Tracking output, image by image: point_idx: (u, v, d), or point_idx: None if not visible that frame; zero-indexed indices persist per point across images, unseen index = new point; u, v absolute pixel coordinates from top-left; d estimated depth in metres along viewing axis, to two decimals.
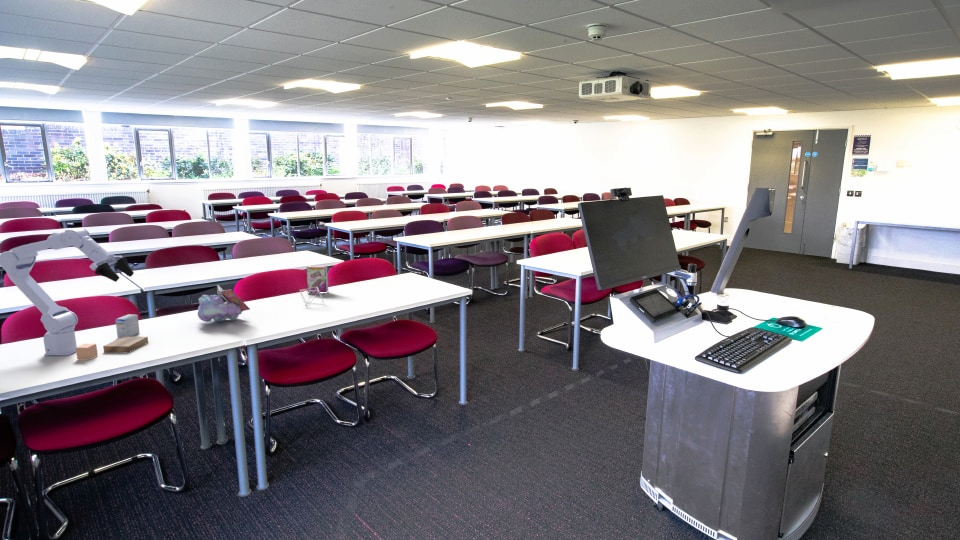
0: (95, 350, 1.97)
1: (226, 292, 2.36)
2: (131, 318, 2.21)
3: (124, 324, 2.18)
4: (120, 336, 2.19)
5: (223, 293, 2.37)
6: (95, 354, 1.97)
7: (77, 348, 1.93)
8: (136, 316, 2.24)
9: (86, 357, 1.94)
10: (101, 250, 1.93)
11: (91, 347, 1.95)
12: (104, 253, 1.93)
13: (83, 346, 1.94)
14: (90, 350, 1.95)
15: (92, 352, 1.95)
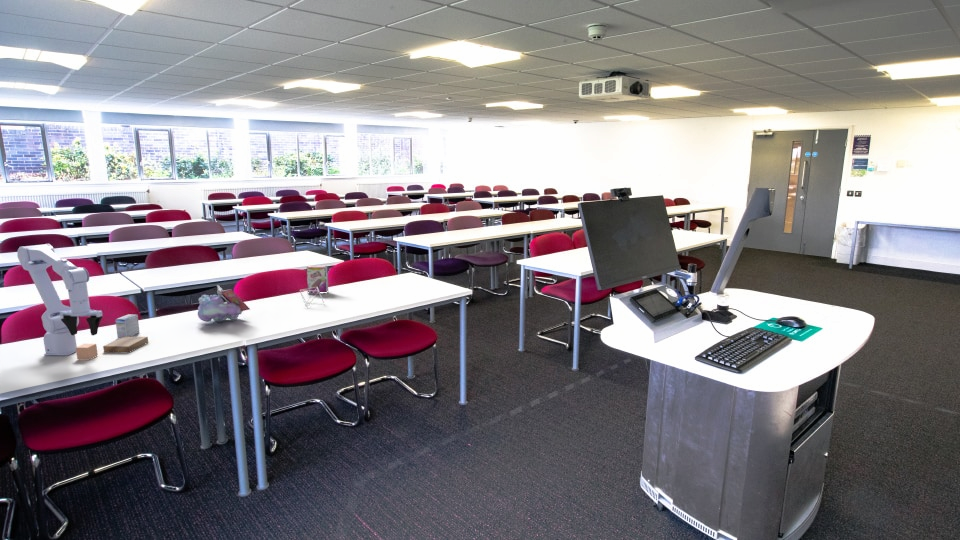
0: (95, 350, 1.97)
1: (226, 292, 2.36)
2: (131, 318, 2.21)
3: (124, 324, 2.18)
4: (120, 336, 2.19)
5: (223, 293, 2.37)
6: (95, 354, 1.97)
7: (77, 348, 1.93)
8: (136, 316, 2.24)
9: (86, 357, 1.94)
10: (72, 305, 1.89)
11: (91, 347, 1.95)
12: (72, 309, 1.90)
13: (83, 346, 1.94)
14: (90, 350, 1.95)
15: (92, 352, 1.95)
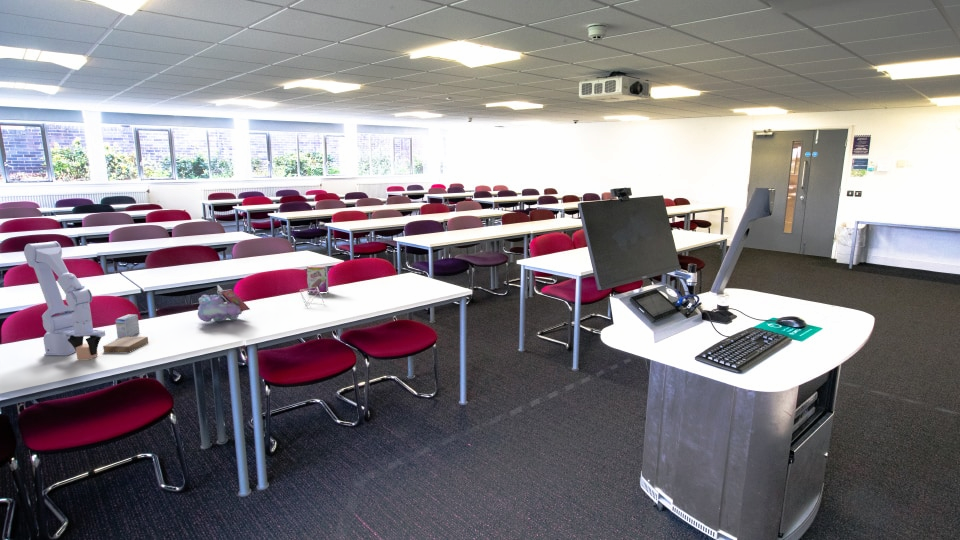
0: None
1: (226, 292, 2.36)
2: (131, 318, 2.21)
3: (124, 324, 2.18)
4: (120, 336, 2.19)
5: (223, 293, 2.37)
6: (95, 354, 1.97)
7: (77, 348, 1.93)
8: (136, 316, 2.24)
9: (86, 357, 1.94)
10: (75, 325, 1.91)
11: None
12: (75, 329, 1.91)
13: (83, 346, 1.94)
14: None
15: None
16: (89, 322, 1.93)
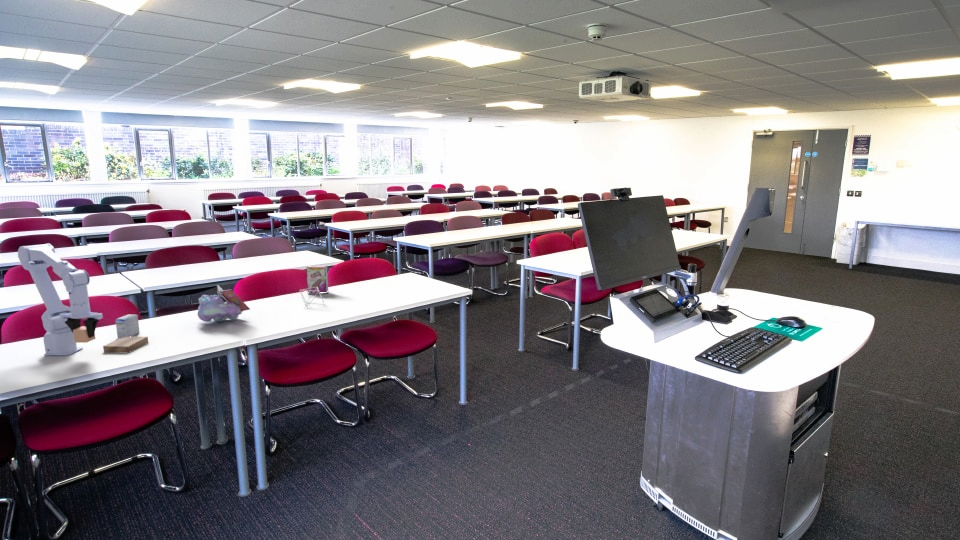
0: None
1: (226, 292, 2.36)
2: (131, 318, 2.21)
3: (124, 324, 2.18)
4: (120, 336, 2.19)
5: (223, 293, 2.37)
6: (93, 337, 1.96)
7: (74, 330, 1.92)
8: (136, 316, 2.24)
9: (83, 339, 1.92)
10: (73, 307, 1.89)
11: None
12: (72, 311, 1.90)
13: (80, 328, 1.93)
14: None
15: None
16: (86, 304, 1.92)
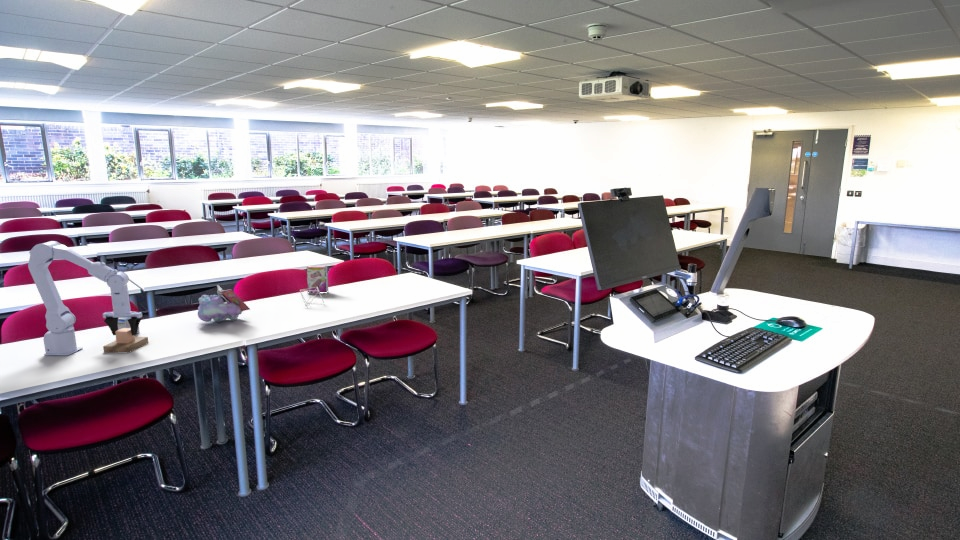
0: None
1: (226, 292, 2.36)
2: None
3: (124, 324, 2.18)
4: None
5: (223, 293, 2.37)
6: (133, 338, 2.08)
7: (117, 332, 2.04)
8: None
9: (125, 340, 2.05)
10: (115, 306, 2.02)
11: (129, 332, 2.06)
12: (115, 310, 2.02)
13: (122, 330, 2.06)
14: (129, 334, 2.06)
15: (130, 336, 2.07)
16: (127, 304, 2.04)
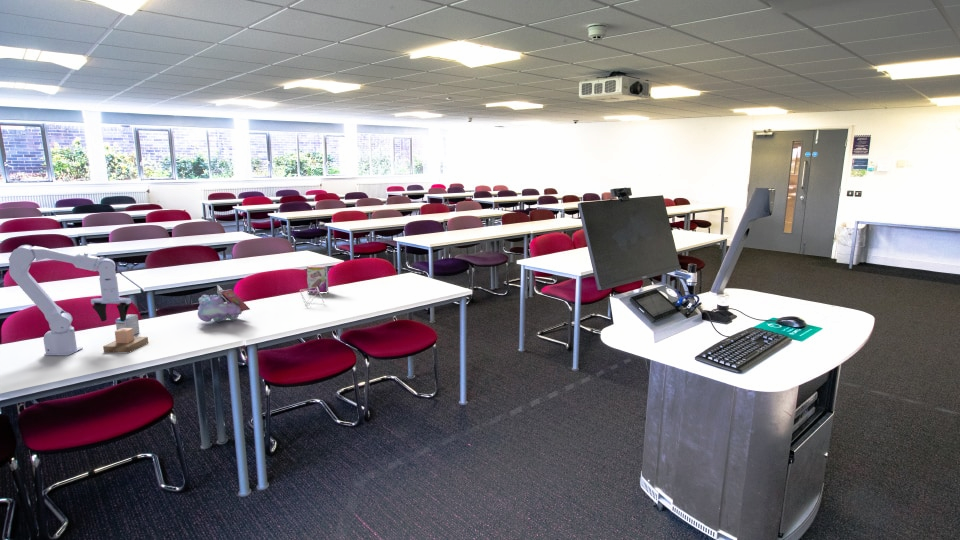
0: (132, 334, 2.08)
1: (226, 292, 2.36)
2: (131, 318, 2.21)
3: (124, 324, 2.18)
4: None
5: (223, 293, 2.37)
6: (132, 338, 2.08)
7: (116, 332, 2.04)
8: (136, 316, 2.24)
9: (124, 340, 2.05)
10: (103, 292, 2.04)
11: (129, 331, 2.06)
12: (103, 296, 2.04)
13: (121, 330, 2.06)
14: (128, 334, 2.06)
15: (129, 336, 2.07)
16: (116, 290, 2.06)
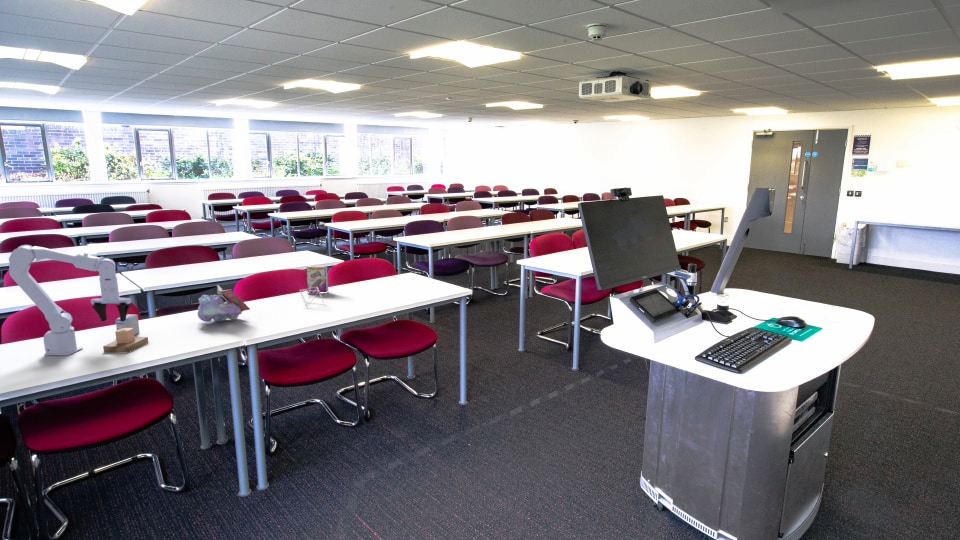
0: (133, 334, 2.09)
1: (226, 292, 2.36)
2: (131, 318, 2.21)
3: (124, 324, 2.18)
4: None
5: (223, 293, 2.37)
6: (133, 338, 2.09)
7: (117, 332, 2.04)
8: (136, 316, 2.24)
9: (125, 340, 2.05)
10: (103, 292, 2.04)
11: (129, 331, 2.07)
12: (103, 296, 2.04)
13: (122, 330, 2.06)
14: (129, 334, 2.06)
15: (130, 336, 2.07)
16: (116, 290, 2.06)
